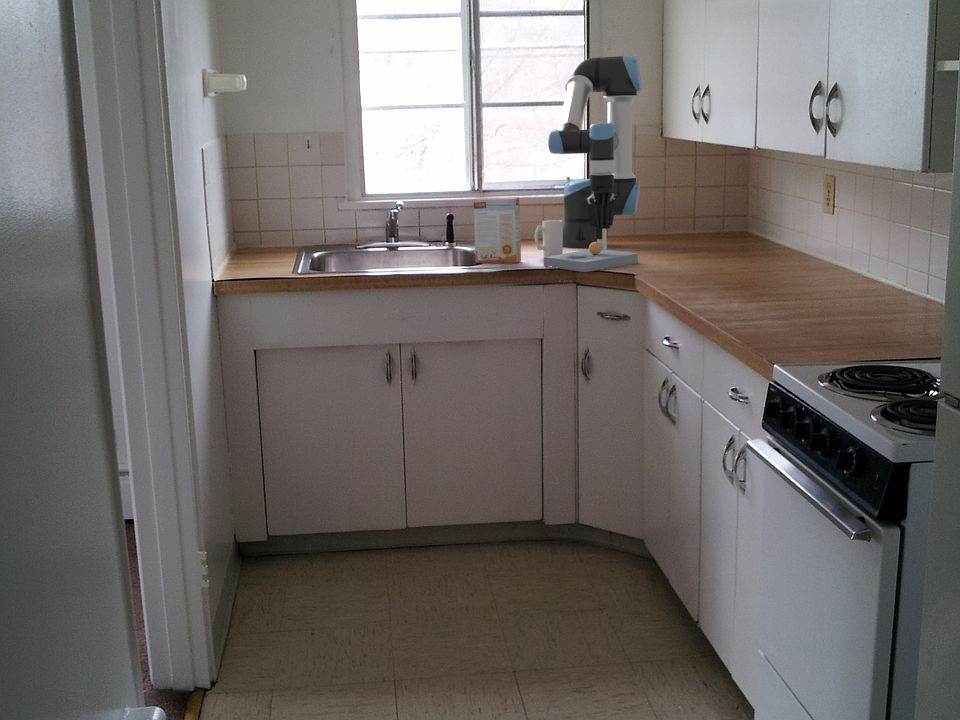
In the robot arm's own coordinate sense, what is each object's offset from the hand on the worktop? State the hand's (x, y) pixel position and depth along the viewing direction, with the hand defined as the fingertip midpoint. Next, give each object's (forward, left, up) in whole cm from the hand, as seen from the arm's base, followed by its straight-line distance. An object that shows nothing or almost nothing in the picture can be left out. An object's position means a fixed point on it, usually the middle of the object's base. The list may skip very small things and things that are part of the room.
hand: (601, 249), depth 330 cm
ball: (+3, 0, +1) cm, 3 cm away
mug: (+2, -22, -5) cm, 23 cm away
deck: (+5, 0, -4) cm, 7 cm away
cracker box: (+20, -27, -5) cm, 34 cm away
